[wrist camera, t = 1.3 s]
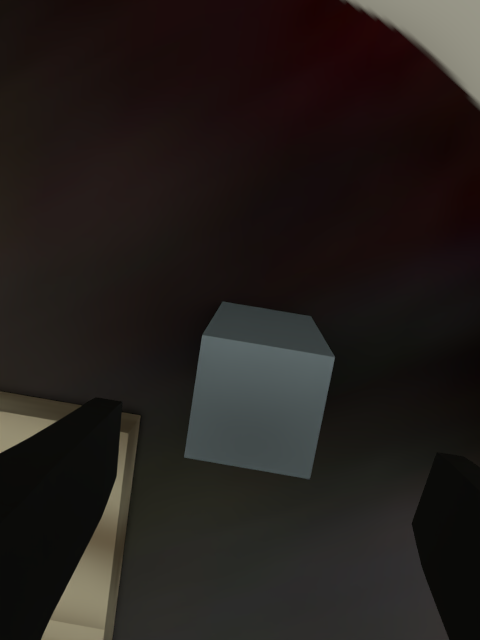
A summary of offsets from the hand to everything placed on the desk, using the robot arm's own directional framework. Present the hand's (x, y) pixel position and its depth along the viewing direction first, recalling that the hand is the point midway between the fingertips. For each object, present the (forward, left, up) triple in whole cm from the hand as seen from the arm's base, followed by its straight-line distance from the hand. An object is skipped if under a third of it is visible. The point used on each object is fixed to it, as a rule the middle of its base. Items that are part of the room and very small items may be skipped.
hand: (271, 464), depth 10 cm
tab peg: (0, 0, -11) cm, 11 cm away
